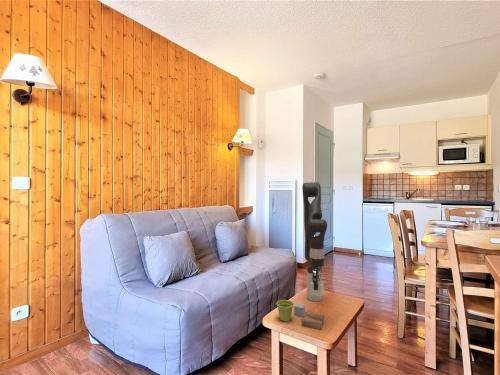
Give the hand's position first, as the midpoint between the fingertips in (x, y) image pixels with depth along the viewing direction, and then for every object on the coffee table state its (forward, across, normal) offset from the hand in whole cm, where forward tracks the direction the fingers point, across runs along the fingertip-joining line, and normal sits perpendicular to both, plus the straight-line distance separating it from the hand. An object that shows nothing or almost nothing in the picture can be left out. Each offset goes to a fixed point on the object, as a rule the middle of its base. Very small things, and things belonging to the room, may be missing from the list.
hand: (316, 287), depth 150 cm
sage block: (+3, 0, 0) cm, 3 cm away
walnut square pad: (+18, +2, -2) cm, 19 cm away
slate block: (+18, -6, -10) cm, 22 cm away
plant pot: (+19, +3, -17) cm, 25 cm away
